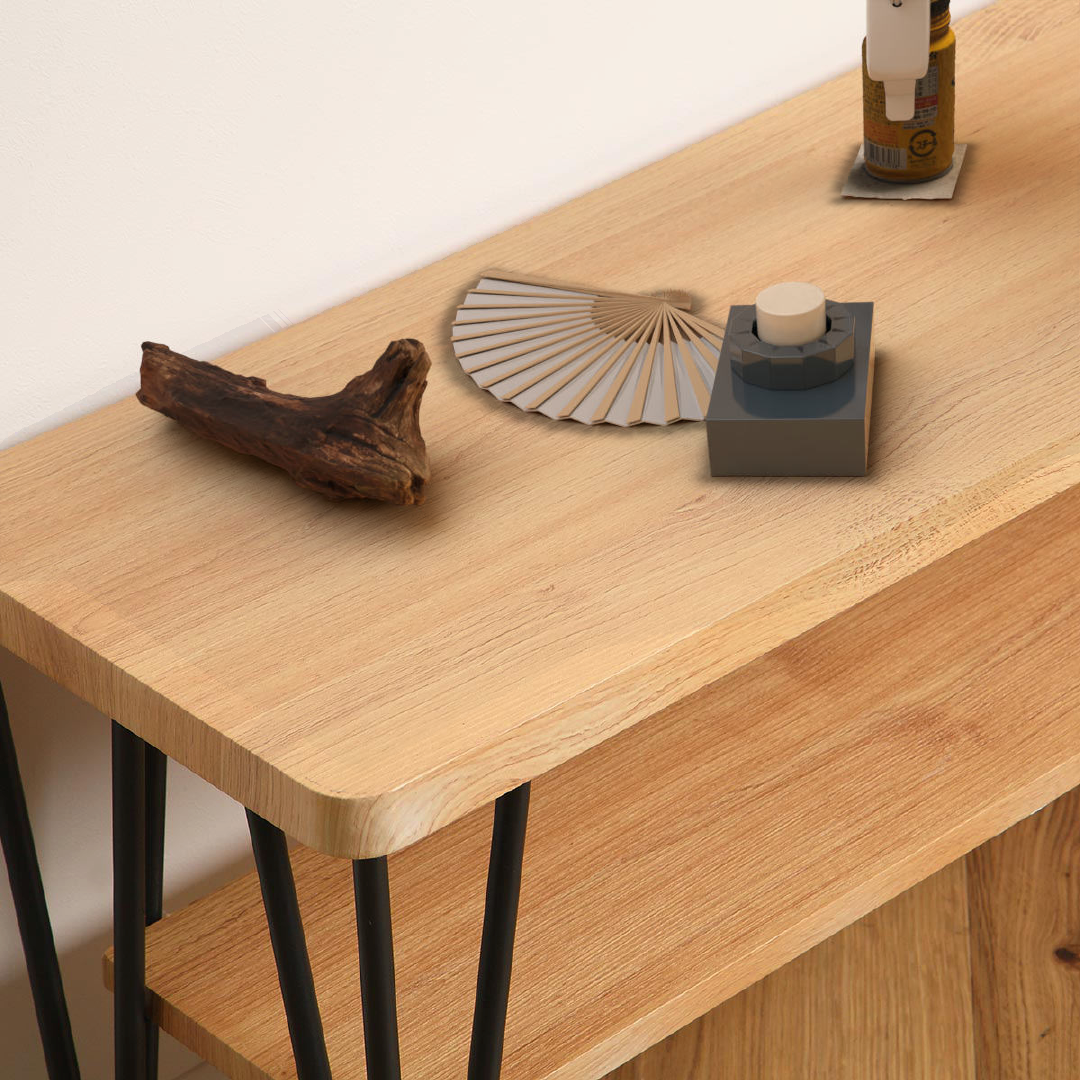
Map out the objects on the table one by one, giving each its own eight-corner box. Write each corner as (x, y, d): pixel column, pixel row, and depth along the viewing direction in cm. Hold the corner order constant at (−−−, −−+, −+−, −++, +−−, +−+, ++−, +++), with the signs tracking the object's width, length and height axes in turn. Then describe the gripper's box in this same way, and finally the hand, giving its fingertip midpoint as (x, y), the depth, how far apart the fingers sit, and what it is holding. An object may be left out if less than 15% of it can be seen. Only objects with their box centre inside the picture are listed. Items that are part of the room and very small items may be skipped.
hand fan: (529, 253, 109) (366, 352, 101) (528, 242, 109) (363, 341, 101) (861, 352, 93) (698, 479, 85) (861, 340, 93) (697, 467, 85)
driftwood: (497, 468, 88) (473, 339, 84) (409, 551, 83) (378, 418, 79) (194, 393, 100) (159, 276, 95) (100, 462, 95) (58, 342, 90)
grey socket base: (874, 355, 92) (873, 269, 89) (866, 476, 83) (863, 384, 80) (734, 358, 94) (728, 273, 91) (710, 476, 85) (702, 386, 82)
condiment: (967, 147, 113) (969, -27, 106) (951, 200, 107) (952, 20, 100) (861, 146, 115) (857, -23, 108) (840, 199, 109) (834, 23, 102)
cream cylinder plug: (828, 314, 87) (827, 280, 85) (824, 348, 84) (822, 313, 83) (760, 315, 88) (758, 281, 86) (754, 350, 85) (752, 315, 84)
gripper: (953, -72, 92) (949, 157, 100) (955, -169, 107) (951, 36, 116) (840, -64, 93) (845, 161, 101) (858, -161, 109) (861, 41, 117)
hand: (902, 94), depth 109 cm, fingers closed on condiment, 6 cm apart
